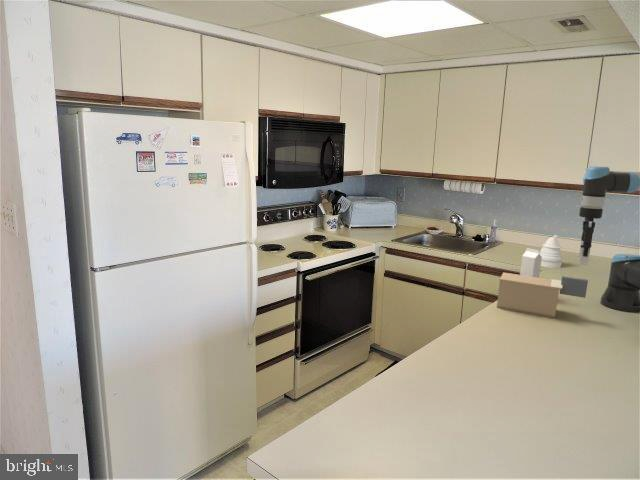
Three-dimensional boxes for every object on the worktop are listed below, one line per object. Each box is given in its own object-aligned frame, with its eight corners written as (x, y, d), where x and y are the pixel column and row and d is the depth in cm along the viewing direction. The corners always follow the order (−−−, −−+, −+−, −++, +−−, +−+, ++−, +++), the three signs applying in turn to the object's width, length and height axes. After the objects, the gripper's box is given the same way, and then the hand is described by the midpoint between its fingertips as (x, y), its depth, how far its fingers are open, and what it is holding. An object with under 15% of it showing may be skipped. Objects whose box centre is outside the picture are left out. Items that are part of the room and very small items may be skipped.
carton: (555, 309, 190) (559, 282, 187) (554, 318, 180) (559, 289, 178) (499, 300, 200) (503, 274, 197) (496, 307, 190) (499, 280, 188)
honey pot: (565, 266, 263) (569, 236, 259) (553, 269, 255) (557, 238, 252) (544, 261, 273) (548, 232, 269) (532, 263, 266) (536, 234, 262)
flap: (584, 293, 184) (587, 276, 182) (585, 301, 174) (588, 284, 172) (502, 280, 198) (504, 265, 197) (498, 287, 188) (500, 271, 187)
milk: (529, 298, 203) (536, 251, 198) (517, 295, 207) (522, 248, 203) (536, 296, 206) (543, 249, 202) (524, 292, 211) (530, 247, 206)
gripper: (579, 203, 185) (571, 253, 189) (581, 209, 163) (572, 266, 168) (600, 204, 182) (592, 255, 186) (605, 211, 160) (595, 269, 164)
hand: (582, 260), depth 177 cm, fingers open, 13 cm apart
